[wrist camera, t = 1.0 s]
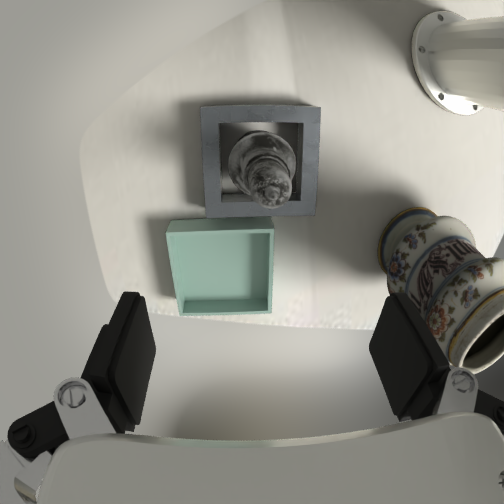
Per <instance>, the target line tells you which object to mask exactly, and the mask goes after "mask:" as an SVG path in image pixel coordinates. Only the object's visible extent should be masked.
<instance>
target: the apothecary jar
mask: <svg viewBox="0 0 504 504" xmlns="http://www.w3.org/2000/svg"><path fill="white" fill-rule="evenodd" d="M378 260H379V264H380V266H381V268H382V270H383V271H384V272H385V273H386V274H387V287H388V291H389V294H391V293H395V292H405V293H406V294H407V295H408V296H409V298H410V299H411V301H412V303H413V304H414V306H415V307H416V309H417V310H418V312H419V313H420V315H421V317H422V318H423V320H424V321H425V323H426V324H427V326H428V328H429V329H430V331H431V333H432V334H433V336H434V338H435V339H436V341H437V343H438V344H439V346H440V348H441V349H442V351H443V353H444V355H445V356H446V358H447V360H448V362H449V363H450V365H454V366H455V367H462V368H465V369H467V370H469V371H470V372H472V373H473V374H475V373H478V372H480V371H482V370H484V369H486V368H487V367H489V366H490V365H492V364H493V363H494V362H495V361H497V360H498V359H499V358H500V357H501V356H502V355H503V354H504V260H503V259H500V258H485V257H484V256H483V255H482V254H481V253H480V252H479V251H478V250H477V249H476V244H475V240H474V237H473V235H472V233H471V231H470V229H469V228H468V227H467V226H466V225H465V224H464V223H463V222H462V221H460V220H458V219H456V218H453V217H449V216H438V217H437V215H436V214H435V213H433V212H432V211H431V210H429V209H426V208H420V207H416V208H410V209H407V210H405V211H403V212H401V213H400V214H398V215H397V216H396V217H395V218H394V219H393V220H392V221H391V222H390V223H389V224H388V225H387V227H386V228H385V230H384V232H383V234H382V236H381V238H380V241H379V245H378Z"/></svg>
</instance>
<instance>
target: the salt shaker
mask: <svg viewBox="0 0 504 504" xmlns="http://www.w3.org/2000/svg"><path fill="white" fill-rule="evenodd" d="M228 170H229V175H230V177H231V179H232V181H233V183H234V184H235V185H236V186H237V187H238V189H240V190H241V191H243V192H244V193H246V194H248V195H251V196H252V198H253V199H254V201H255V202H256V203H257V204H259V205H260V206H262V207H264V208H269V209H274V208H278V207H281V206H282V205H284V204H285V203H286V202H287V201H288V200H289V198H290V196H291V192H292V183H291V181H292V179H293V176H294V174H295V170H296V158H295V154H294V152H293V149H292V148H291V146H290V145H289V144H288V143H287V141H285V140H284V139H283V138H281V137H280V136H278V135H275V134H273V133H269V132H267V131H252V132H249V133H247V134H245V135H244V136H242V137H241V138H240V139H239V140H238V141H237V143H236V144H235V146H234V147H233V149H232V151H231V153H230V156H229V161H228Z"/></svg>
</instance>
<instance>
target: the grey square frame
mask: <svg viewBox="0 0 504 504" xmlns="http://www.w3.org/2000/svg"><path fill="white" fill-rule="evenodd" d="M320 116H321V107H316V106H303V105H268V104H252V105H217V106H202V107H200V118H201V141H202V160H203V178H204V194H205V208H206V218H225V217H258V216H312V215H315V207H316V194H317V179H318V162H319V142H320ZM234 122H294V123H298V146H297V175H296V193H291V196H290V198H289V200H288V201H287V202H286V203H285V204H284V205H282V206H281V207H278V208H274V209H269V208H264V207H262V206H260V205H259V204H257V203H256V202H255V201H254V199H253V198H252V196H251V195H248V194H246V193H242V194H222V177H221V151H220V123H234Z"/></svg>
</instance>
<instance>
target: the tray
mask: <svg viewBox="0 0 504 504" xmlns="http://www.w3.org/2000/svg"><path fill="white" fill-rule="evenodd" d="M166 239H167V245H168V252H169V258H170V265H171V271H172V277H173V282H174V288H175V294H176V299H177V304H178V310H179V315H180V316H200V315H240V314H265V313H271V312H272V286H273V256H274V226H273V223H272V219H271V217H239V218H211V219H187V220H171V222H170V224H169V226H168V228H167V231H166Z"/></svg>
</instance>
